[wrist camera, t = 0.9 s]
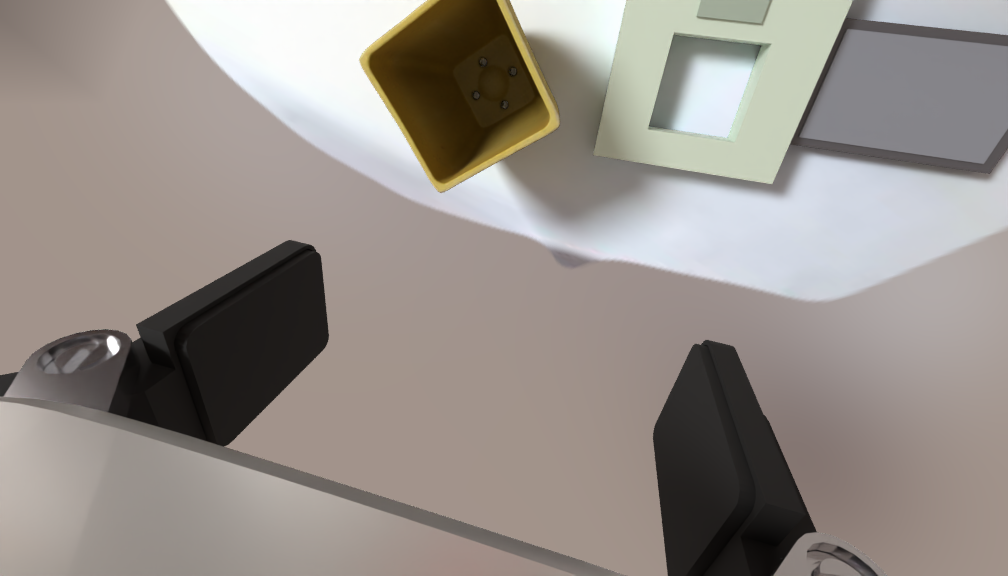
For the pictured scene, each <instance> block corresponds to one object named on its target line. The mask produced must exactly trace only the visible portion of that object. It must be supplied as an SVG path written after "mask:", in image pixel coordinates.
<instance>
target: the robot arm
mask: <svg viewBox="0 0 1008 576" xmlns="http://www.w3.org/2000/svg"><path fill="white" fill-rule="evenodd" d="M136 326H137V328H138V331H139V334H140V336H141V338H139V339H137V340H136V341H134V342H132V340H131V338H130V337H129V336H128V335H127V334H126V333H123V332H121V331H118V330H108V329H103V330H90V331H85V332H79V333H75V334H72V335H69V336H66V337H62V338H60V339H57V340H55V341H53V342H51V343H48V344H46V345H45V346H43V347H41V348H40V349H38V350H37V351H35V352H34V353H33V354H32V355H31V356H30V357H29V358H28V359H27V360H26V362H25V363H24V365H23V366H22V368H21V370H20V371H19V372H15V373H10V374H5V375H0V576H626V575H623V574H620V573H617V572H614V571H611V570H608V569H605V568H602V567H600V566H597V565H594V564H591V563H588V562H585V561H582V560H579V559H576V558H573V557H570V556H566V555H563V554H560V553H557V552H554V551H551V550H548V549H545V548H542V547H538V546H535V545H532V544H529V543H526V542H523V541H520V540H517V539H514V538H511V537H507V536H504V535H501V534H498V533H495V532H492V531H489V530H486V529H483V528H480V527H477V526H473V525H470V524H467V523H464V522H461V521H458V520H455V519H452V518H449V517H446V516H442V515H439V514H436V513H433V512H429V511H427V510H423V509H420V508H417V507H414V506H411V505H408V504H405V503H401V502H398V501H395V500H392V499H389V498H386V497H382V496H379V495H376V494H373V493H370V492H367V491H364V490H360V489H357V488H354V487H351V486H348V485H345V484H341V483H338V482H335V481H332V480H329V479H326V478H322V477H319V476H316V475H313V474H310V473H307V472H303V471H300V470H297V469H294V468H291V467H287V466H284V465H281V464H278V463H274V462H271V461H268V460H265V459H261V458H258V457H255V456H252V455H249V454H246V453H242V452H239V451H236V450H233V449H229V448H226V447H224V446H226V445H228V444H229V443H231V442H232V441H233V440H234V439H235V438H236V437H237V436H238V435H239V434H240V433H241V432H242V431H243V430H244V429H245V428H246V427H247V426H248V425H249V424H250V423H251V422H252V421H253V420H254V419H255V418H256V417H257V416H258V415H259V413H261V412H262V411H263V410H264V409H265V408H266V407H267V406H268V405H269V404H270V403H271V402H272V401H273V400H274V399H275V398H276V397H277V396H278V395H279V394H280V393H281V392H282V390H284V389H285V388H286V387H287V386H288V385H289V384H290V383H291V382H292V381H293V380H294V379H295V378H296V377H297V375H299V374H300V372H301V371H303V370H304V369H305V368H306V366H307V365H309V364H310V362H312V361H313V360H314V358H316V357H317V356H318V354H320V353H321V351H323V349H324V348H325V347H326V345H327V342H328V338H329V334H328V323H327V314H326V303H325V293H324V283H323V273H322V263H321V256H320V254H319V253H317V252H316V250H315V248H314V247H313V246H312V245H309V244H305V243H300V242H296V241H292V240H288V241H286V242H284V243H282V244H280V245H278V246H277V247H275V248H273V249H271V250H269V251H268V252H266V253H264V254H262V255H260V256H259V257H257V258H255V259H253V260H251V261H250V262H248V263H246V264H244V265H243V266H241V267H239V268H237V269H235V270H233V271H232V272H230V273H228V274H226V275H225V276H223V277H221V278H219V279H217V280H215V281H214V282H212V283H210V284H208V285H206V286H205V287H203V288H201V289H199V290H198V291H196V292H194V293H192V294H190V295H189V296H187V297H185V298H183V299H182V300H180V301H178V302H176V303H174V304H172V305H171V306H169V307H167V308H165V309H164V310H162V311H160V312H158V313H156V314H155V315H153V316H151V317H149V318H147V319H145V320H144V321H142V322H140V323H138V324H136ZM653 442H654V451H655V461H656V470H657V479H658V488H659V497H660V507H661V516H662V524H663V534H664V543H665V553H666V562H667V570H668V576H887V575H886V573H885V572H884V571H883V570H882V569H881V568H880V567H879V566H878V565H877V564H876V563H874V562H873V561H872V560H871V559H870V558H869V557H868V556H866V555H865V554H864V553H863V552H861V551H860V550H858V549H856V548H855V547H853V546H852V545H851V544H849V543H847V542H845V541H843V540H841V539H839V538H837V537H834V536H832V535H828V534H823V533H819V532H816V529H815V527H814V525H813V523H812V520H811V518H810V516H809V513H808V511H807V508H806V506H805V504H804V502H803V499H802V497H801V495H800V492H799V490H798V488H797V486H796V483H795V481H794V479H793V476H792V474H791V472H790V469H789V467H788V465H787V462H786V460H785V458H784V456H783V453H782V451H781V449H780V446H779V444H778V442H777V440H776V437H775V435H774V433H773V430H772V428H771V426H770V423H769V421H768V420H767V418H766V416H765V415H763V413H762V410H761V408H760V406H759V403H758V401H757V399H756V396H755V394H754V392H753V389H752V387H751V385H750V382H749V380H748V378H747V375H746V373H745V370H744V368H743V366H742V363H741V361H740V359H739V357H738V354H737V352H736V350H735V348H734V347H733V346H730V345H726V344H722V343H718V342H713V341H709V340H705V341H704V342H703V343H702V344H701V345H699V344H695V345H693V347H692V348H691V351H690V352H689V355H688V357H687V359H686V361H685V363H684V365H683V367H682V369H681V371H680V373H679V376H678V378H677V380H676V382H675V384H674V386H673V388H672V391H671V392H670V395H669V397H668V399H667V401H666V403H665V405H664V407H663V410H662V411H661V414H660V416H659V418H658V420H657V422H656V424H655V428H654V433H653Z"/></svg>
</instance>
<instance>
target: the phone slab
mask: <svg viewBox="0 0 1008 576" xmlns="http://www.w3.org/2000/svg"><path fill="white" fill-rule="evenodd" d="M790 144H792V145H799V146H806V147H813V148H819V149H826V150H833V151H840V152H846V153H853V154H860V155H867V156H873V157H880V158H887V159H894V160H900V161H907V162H914V163H921V164H927V165H934V166H941V167H948V168H954V169H961V170H968V171H975V172H981V173H988V174H990V173H991V171H992V170H993V168H994V167H995V166H996V164H997V163H998V161H999V160H1000V158H1001V157H1002V155H1003V154H1004V153H1005V151H1006V150H1007V148H1008V35H1000V34H990V33H981V32H971V31H962V30H952V29H943V28H933V27H924V26H914V25H905V24H896V23H886V22H877V21H867V20H858V19H848V18H845V20H844V22H843V24H842V26H841V29H840V31H839V33H838V36H837V38H836V40H835V42H834V45H833V47H832V49H831V51H830V54H829V56H828V58H827V61H826V63H825V65H824V67H823V70H822V72H821V74H820V76H819V79H818V81H817V83H816V86H815V88H814V90H813V92H812V95H811V97H810V99H809V102H808V104H807V106H806V108H805V111H804V113H803V115H802V117H801V120H800V122H799V124H798V127H797V129H796V131H795V133H794V136H793V138H792V140H791V142H790Z"/></svg>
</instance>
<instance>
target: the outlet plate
mask: <svg viewBox="0 0 1008 576" xmlns="http://www.w3.org/2000/svg"><path fill="white" fill-rule="evenodd" d="M852 1H853V0H626V5H625V9H624V14H623V18H622V23H621V28H620V32H619V37H618V42H617V46H616V51H615V56H614V60H613V65H612V70H611V74H610V79H609V84H608V88H607V93H606V98H605V102H604V107H603V112H602V116H601V121H600V125H599V130H598V135H597V139H596V144H595V149H594V153H593V155H595V156H601V157H607V158H613V159H620V160H626V161H632V162H638V163H644V164H650V165H657V166H663V167H669V168H675V169H681V170H687V171H694V172H700V173H706V174H712V175H718V176H724V177H731V178H737V179H743V180H749V181H755V182H761V183H768V184H772V183H773V181H774V179H775V177H776V174H777V172H778V170H779V168H780V165H781V163H782V161H783V158H784V156H785V154H786V152H787V149H788V147H789V145H790V142H791V140H792V138H793V136H794V133H795V131H796V129H797V127H798V124H799V122H800V120H801V117H802V115H803V113H804V111H805V108H806V106H807V104H808V102H809V99H810V97H811V95H812V92H813V90H814V88H815V86H816V83H817V81H818V79H819V76H820V74H821V72H822V70H823V67H824V65H825V63H826V61H827V58H828V56H829V54H830V51H831V49H832V47H833V45H834V42H835V40H836V38H837V36H838V33H839V31H840V29H841V26H842V24H843V22H844V20H845V17H846V15H847V13H848V10H849V8H850V6H851V4H852ZM673 35H678V36H687V37H695V38H704V39H712V40H721V41H729V42H738V43H746V44H755V45H761V48H760V50H759V53H758V56H757V59H756V61H755V64H754V67H753V70H752V72H751V75H750V78H749V81H748V83H747V86H746V89H745V91H744V94H743V97H742V100H741V102H740V105H739V108H738V111H737V113H736V116H735V119H734V122H733V124H732V127H731V130H730V133H729V135H728V138H723V137H717V136H710V135H703V134H697V133H690V132H683V131H677V130H670V129H663V128H657V127H650V126H649V123H650V119H651V116H652V112H653V108H654V105H655V101H656V97H657V94H658V90H659V86H660V83H661V79H662V75H663V71H664V68H665V64H666V60H667V57H668V53H669V49H670V46H671V42H672V38H673Z"/></svg>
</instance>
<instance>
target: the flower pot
mask: <svg viewBox="0 0 1008 576" xmlns="http://www.w3.org/2000/svg"><path fill="white" fill-rule="evenodd" d="M481 58H485V59H486V60H487V64H486V66H481V65H480V63H479V61H480V59H481ZM359 60H360V64H361V66H362V68H363V70H364V72H365V73H366V75H367V77H368V78H369V80H370V82H371V83H372V85H373V86H374V88H375V90H376V91H377V93H378V94H379V96H380V97H381V99H382V100H383V102H384V104H385V105H386V107H387V109H388V110H389V112H390V113H391V115H392V116H393V118H394V120H395V121H396V123H397V124H398V126H399V128H400V129H401V131H402V133H403V135H404V136H405V138H406V140H407V142H408V143H409V145H410V147H411V149H412V150H413V152H414V154H415V156H416V157H417V159H418V161H419V163H420V164H421V166H422V168H423V170H424V171H425V173H426V175H427V177H428V179H429V180H430V182H431V183H432V185H433V186H434V187H435V188H436V190H437V191H438V192H440V193H442V192H445V191H447V190H449V189H451V188H453V187H454V186H456V185H458V184H459V183H461V182H463V181H465V180H467V179H468V178H470V177H472V176H474V175H475V174H477V173H479V172H481V171H482V170H484V169H486V168H488V167H490V166H492V165H493V164H495V163H497V162H499V161H501V160H503V159H504V158H506V157H508V156H510V155H512V154H513V153H515V152H517V151H519V150H521V149H523V148H524V147H526V146H528V145H530V144H532V143H534V142H535V141H537V140H539V139H541V138H543V137H545V136H547V135H548V134H550V133H552V132H553V131H555V130H556V129H557V128H558V127H559V125H560V116H559V110H558V106H557V103H556V101H555V99H554V97H553V95H552V93H551V91H550V89H549V87H548V85H547V82H546V80H545V78H544V76H543V74H542V72H541V70H540V67H539V65H538V63H537V61H536V59H535V57H534V54H533V52H532V50H531V48H530V45H529V43H528V41H527V39H526V36H525V34H524V32H523V30H522V28H521V25H520V23H519V21H518V19H517V16H516V14H515V12H514V9H513V7H512V5H511V3H510V0H427V1H426V2H424V3H423V4H422V5H421V6H419V7H418V8H417V9H416V10H415V11H413V12H412V13H411V14H410V15H408V16H407V17H406V18H405V19H403V20H402V21H401V22H400V23H398V24H397V25H396V26H395V27H393V28H392V29H391V30H389V31H388V32H387V33H386V34H384V35H383V36H382V37H380V38H379V39H378V40H377V41H375V42H374V43H373V44H371V45H370V46H369V47H368V48H367V49H366V50H365V51H364V52H363V53H362V55H361V57H360V59H359ZM512 67H514V68H516V70H517V73H516V75H515V76H511V75H510V74H509V70H510V68H512ZM474 91H477V92H479V94H480V97H479V99H474V98H473V92H474ZM502 101H507V102H508V107H507V108H506V109H503V108H502V107H501V102H502Z"/></svg>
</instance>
